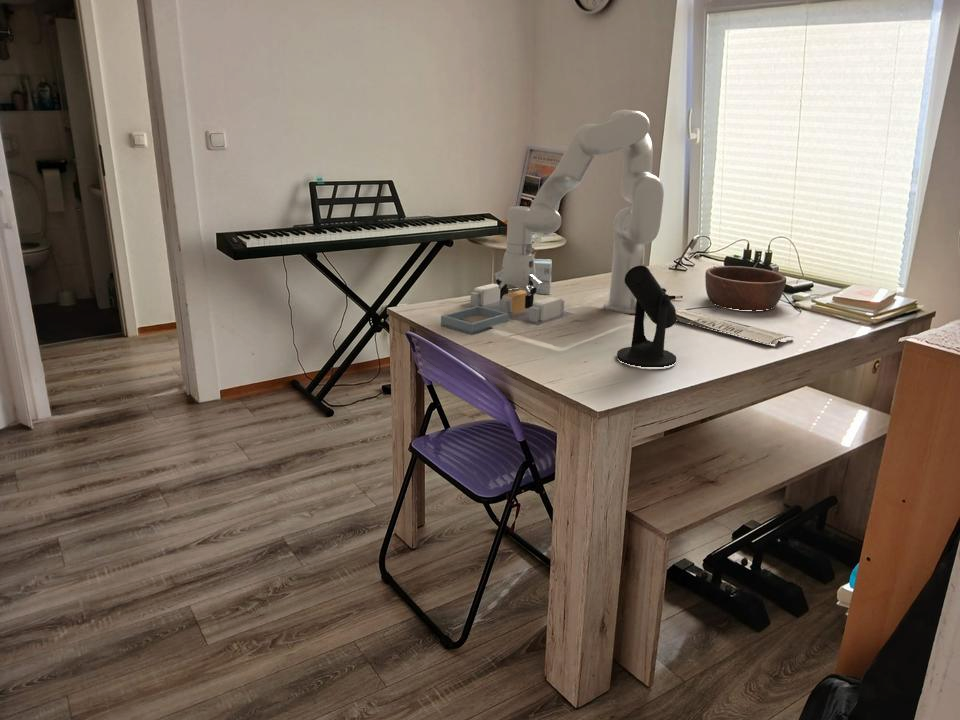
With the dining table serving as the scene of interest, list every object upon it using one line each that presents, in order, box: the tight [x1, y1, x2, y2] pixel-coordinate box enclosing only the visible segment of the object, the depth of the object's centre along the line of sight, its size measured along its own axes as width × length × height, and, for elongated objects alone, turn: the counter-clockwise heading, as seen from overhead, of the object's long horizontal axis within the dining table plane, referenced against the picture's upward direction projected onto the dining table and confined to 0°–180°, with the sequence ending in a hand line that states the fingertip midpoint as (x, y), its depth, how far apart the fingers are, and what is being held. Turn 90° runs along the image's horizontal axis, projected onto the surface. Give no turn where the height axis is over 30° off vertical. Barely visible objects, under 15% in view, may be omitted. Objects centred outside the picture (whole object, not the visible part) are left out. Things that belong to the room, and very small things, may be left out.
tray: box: [440, 306, 510, 336], centre depth 222 cm, size 12×16×3 cm
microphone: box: [616, 265, 677, 367], centre depth 193 cm, size 15×17×25 cm
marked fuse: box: [502, 289, 527, 313], centre depth 235 cm, size 4×10×5 cm, turn 139°
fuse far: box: [473, 283, 500, 306], centre depth 242 cm, size 4×10×5 cm, turn 139°
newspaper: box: [675, 308, 793, 346], centre depth 223 cm, size 35×12×4 cm, turn 43°
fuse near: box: [533, 296, 563, 321], centre depth 228 cm, size 4×10×5 cm, turn 139°
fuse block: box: [460, 291, 574, 326], centre depth 235 cm, size 30×18×5 cm, turn 49°
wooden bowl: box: [704, 265, 787, 311], centre depth 251 cm, size 25×25×10 cm
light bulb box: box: [518, 258, 553, 295], centre depth 259 cm, size 11×7×11 cm, turn 84°
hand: (516, 304), depth 235 cm, fingers open, 9 cm apart
